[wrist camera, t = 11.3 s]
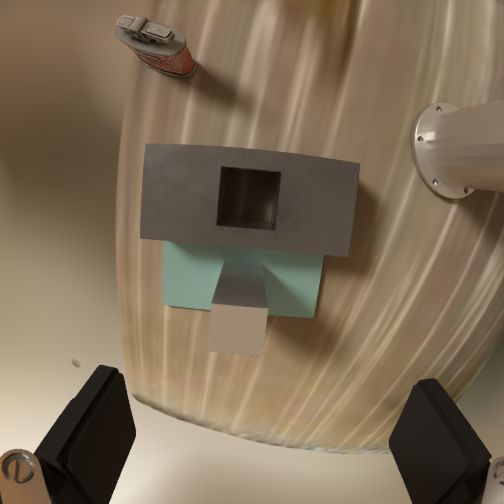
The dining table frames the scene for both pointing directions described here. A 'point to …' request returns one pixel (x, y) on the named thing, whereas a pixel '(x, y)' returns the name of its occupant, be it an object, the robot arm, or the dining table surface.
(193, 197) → the rail
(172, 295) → the mat
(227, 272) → the peg
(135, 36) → the lighter
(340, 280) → the dining table surface
